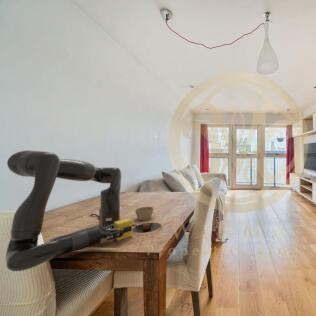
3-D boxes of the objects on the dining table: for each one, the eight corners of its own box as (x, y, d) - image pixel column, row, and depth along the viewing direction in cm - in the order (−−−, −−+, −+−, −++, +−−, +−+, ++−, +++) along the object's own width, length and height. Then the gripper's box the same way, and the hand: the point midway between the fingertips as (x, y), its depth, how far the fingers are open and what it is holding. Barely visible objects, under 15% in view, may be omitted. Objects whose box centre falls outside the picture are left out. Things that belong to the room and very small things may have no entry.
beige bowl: (146, 223, 106) (146, 211, 106) (131, 222, 108) (131, 210, 108) (156, 218, 116) (156, 207, 116) (143, 217, 118) (143, 206, 118)
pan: (115, 231, 95) (115, 228, 95) (137, 222, 108) (137, 219, 108) (148, 236, 89) (148, 233, 89) (166, 226, 103) (166, 223, 103)
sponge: (114, 240, 85) (114, 221, 85) (127, 236, 90) (127, 218, 90) (118, 243, 82) (118, 224, 82) (132, 238, 87) (131, 220, 87)
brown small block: (142, 229, 95) (142, 225, 95) (145, 227, 98) (145, 223, 98) (147, 229, 95) (147, 225, 95) (150, 227, 98) (150, 223, 98)
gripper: (90, 234, 70) (134, 221, 83) (79, 225, 78) (121, 215, 91) (90, 253, 70) (134, 237, 83) (79, 242, 78) (121, 230, 92)
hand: (127, 226), depth 87 cm, fingers open, 8 cm apart
